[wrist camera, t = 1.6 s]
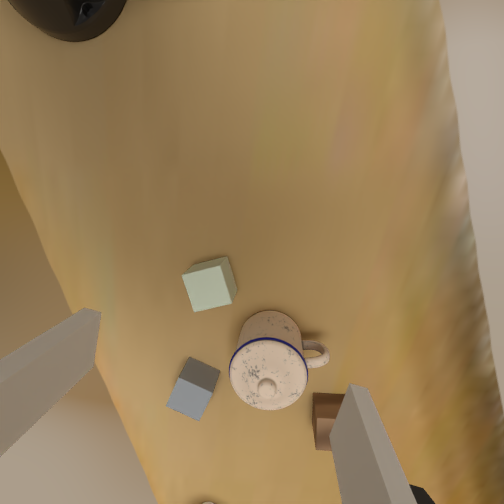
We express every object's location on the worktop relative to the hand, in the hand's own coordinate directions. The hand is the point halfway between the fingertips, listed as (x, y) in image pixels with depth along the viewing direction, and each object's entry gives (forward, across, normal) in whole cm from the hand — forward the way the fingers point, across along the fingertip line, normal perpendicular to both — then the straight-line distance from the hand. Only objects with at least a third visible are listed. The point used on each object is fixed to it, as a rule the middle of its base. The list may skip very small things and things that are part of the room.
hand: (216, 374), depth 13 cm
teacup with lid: (+28, +6, -12) cm, 31 cm away
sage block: (+28, -5, -6) cm, 29 cm away
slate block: (+28, -4, -22) cm, 36 cm away
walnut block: (+28, +16, -21) cm, 38 cm away
